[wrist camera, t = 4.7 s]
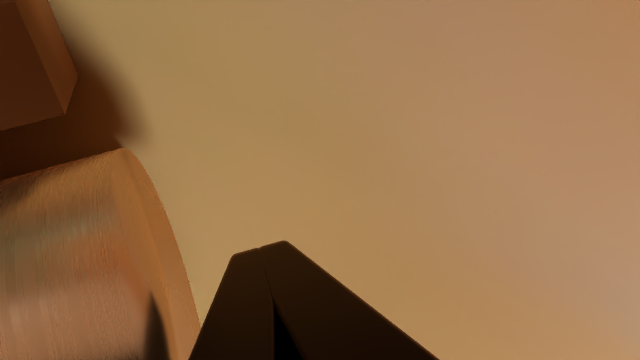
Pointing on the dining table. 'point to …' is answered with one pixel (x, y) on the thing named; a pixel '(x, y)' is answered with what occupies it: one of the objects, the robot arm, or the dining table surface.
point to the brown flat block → (32, 64)
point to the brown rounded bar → (91, 266)
